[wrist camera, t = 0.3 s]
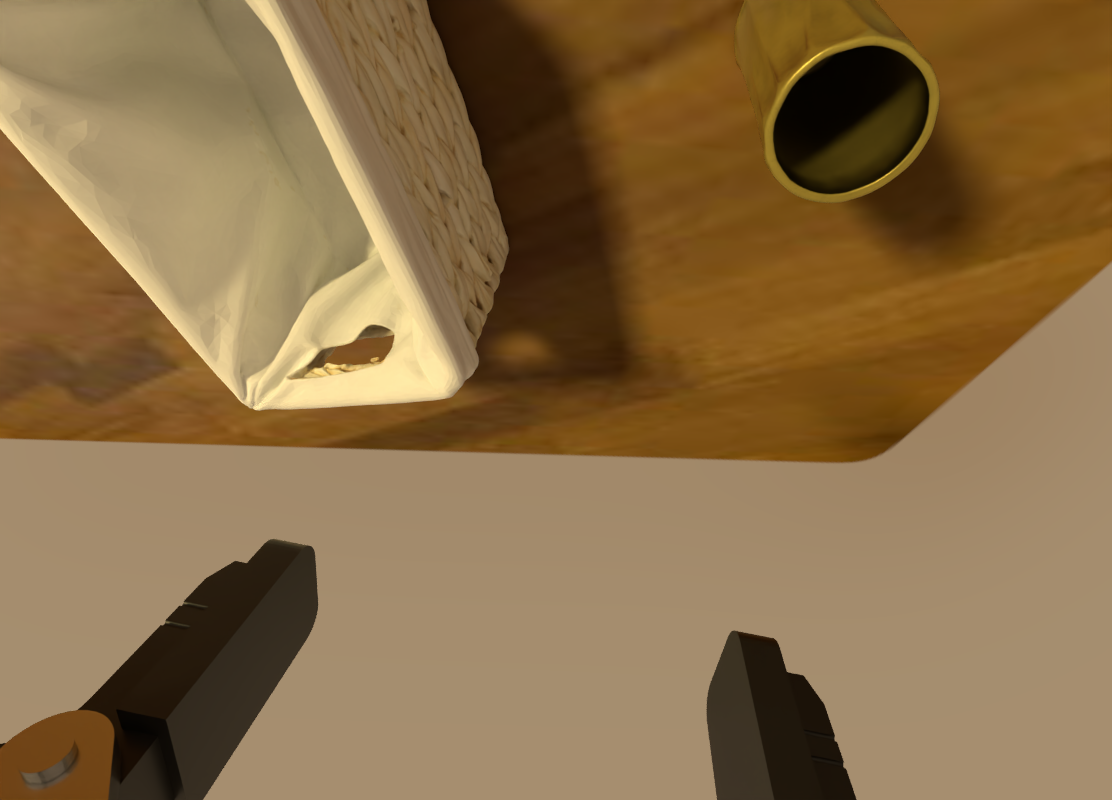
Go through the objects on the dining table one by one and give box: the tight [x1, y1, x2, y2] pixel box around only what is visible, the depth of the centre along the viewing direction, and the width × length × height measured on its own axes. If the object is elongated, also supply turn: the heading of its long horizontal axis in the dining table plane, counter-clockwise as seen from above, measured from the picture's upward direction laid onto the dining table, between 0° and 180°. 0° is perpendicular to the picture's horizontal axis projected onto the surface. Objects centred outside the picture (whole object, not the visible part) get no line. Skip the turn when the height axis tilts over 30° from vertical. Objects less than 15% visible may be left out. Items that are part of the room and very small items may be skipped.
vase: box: [734, 0, 940, 203], centre depth 23 cm, size 6×6×14 cm
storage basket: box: [0, 0, 509, 410], centre depth 31 cm, size 24×16×15 cm
